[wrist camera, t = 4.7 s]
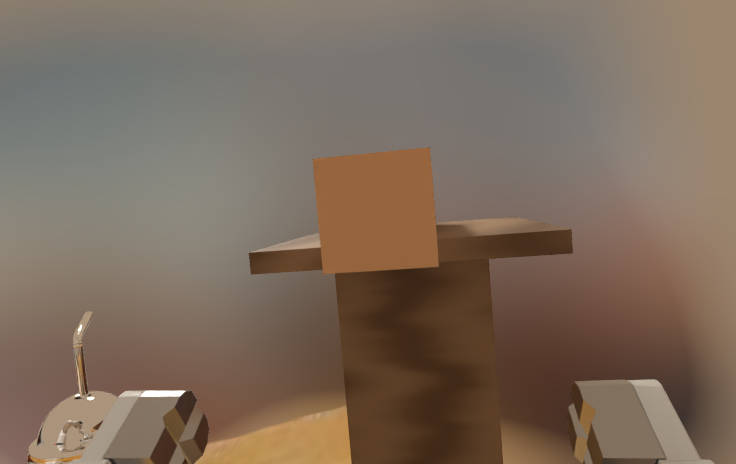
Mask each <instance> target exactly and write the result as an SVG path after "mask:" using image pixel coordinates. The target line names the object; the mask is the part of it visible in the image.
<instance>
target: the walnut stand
mask: <svg viewBox="0 0 736 464" xmlns="http://www.w3.org/2000/svg"><path fill="white" fill-rule="evenodd" d="M436 230H437V246H438V262H439V267H427V268H412V269H396V270H381V271H365V272H349V273H335V279H336V291H337V302H338V314H339V324H340V335H341V348H342V357H343V370H344V381H345V393H346V404H347V415H348V426H349V438H350V449H351V460H352V464H503V457H502V442H501V429H500V414H499V400H498V387H497V371H496V359H495V358H496V357H495V343H494V329H493V314H492V300H491V287H490V272H489V259H493V258H508V257H524V256H538V255H554V254H569V253H573V249H572V232H571V229H567V228H563V227H559V226H554V225H549V224H545V223H540V222H535V221H531V220H527V219H522V218H517V217H507V218H494V219H482V220H469V221H455V222H442V223H436ZM249 259H250V268H251V274H265V273H280V272H295V271H309V270H323V267H322V256H321V245H320V234H319V233H316V234H312V235H309V236H305V237H302V238H298V239H295V240H291V241H288V242H284V243H281V244H277V245H274V246H270V247H267V248H264V249H260V250H256V251H253V252H250V253H249Z"/></svg>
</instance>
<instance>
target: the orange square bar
mask: <svg viewBox="0 0 736 464" xmlns="http://www.w3.org/2000/svg"><path fill="white" fill-rule="evenodd" d="M313 168H314V178H315V190H316V201H317V212H318V221H319V234H320V245H321V256H322V267H323V274H333V273H349V272H365V271H381V270H396V269H412V268H427V267H439V262H438V246H437V230H436V216H435V203H434V190H433V178H432V167H431V156H430V148H429V147H428V148H418V149H408V150H399V151H388V152H378V153H368V154H358V155H348V156H338V157H329V158H318V159H313Z"/></svg>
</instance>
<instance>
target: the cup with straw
mask: <svg viewBox="0 0 736 464" xmlns="http://www.w3.org/2000/svg"><path fill="white" fill-rule="evenodd" d="M92 316H93V313H92V312H86V313H85V314H84V316H83V318H82V320H81V322H80V324H79V326H78V327H77V329H76V331H75V333H74V337H73V350H74V358H75V366H76V374H77V382H78V390H79V394H76V395H73V396H71V397H69V398H67V399H66V400H64V401H62V402H61V403H59V404H58V405H57V406H56V407H55V408H54V409H52V410H51V412H50V413H49V414H48V416H47V417H46V418H45V420H44V422H43V424H42V426H41V428H40V432H39V434H38V438H37V439H36V440H35V441H34V442H32V444H31V446H30V447H29V449H28V453H29V455H28V457H27V462H28V464H68V463H70V462H71V461H72V460H74V459H80V458H81V456H82V455H83V453H84V452H85V450H86V448H87V447H88V445H89V443H90V442H91V440H92V439H93V437H94V435H95V434H96V432H97V431H98V429H99V427H100V426H101V424H102V422H103V421H104V419H105V418H106V416H107V414H108V413H109V411H110V409H111V408H112V406H113V405H114V403H115V401H116V400H117V398H118V397H117V396H115V395H113V394H110V393H107V392H103V391H88V386H87V377H86V369H85V360H84V353H83V335H84V332H85V330H86V329H87V327H88V325H89V322H90V320H91V318H92Z"/></svg>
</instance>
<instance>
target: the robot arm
mask: <svg viewBox="0 0 736 464" xmlns="http://www.w3.org/2000/svg"><path fill="white" fill-rule="evenodd" d="M571 396H572V400H573V404H572V405H571V406H569V407H568V416H567V421H568V433H569V438H570V442H571V446H572V450H573V453H574V456H575V457H576V458H578V459H579V460H580V461H581V462H582V463H583V464H714V463H713V462H712V461H711V460H701V459H700V457H699V455H698V453H697V451H696V449H695V447H694V445H693V444H692V442H691V440H690V438H689V436H688V434H687V432H686V430H685V429H684V427H683V425H682V423H681V421H680V419H679V417H678V415H677V413H676V411H675V409H674V408H673V406H672V404H671V402H670V400H669V398H668V396H667V395H666V392H665V390H664V389H663V387H662V385H661V384H660V383H659V382H658V381H657V380H653V379H652V380H628V381H627V380H601V381H575V382H574V383H573V384H572V387H571ZM196 402H197V399H196V397H195V396H194V394H193V392H192V391H125V392H124V393H123V394H121V395H120V396H119V397H118V398H117V400H116V401H115V403H114V405H113V406H112V408H111V409H110V411H109V413H108V414H107V416H106V418H105V419H104V421H103V422H102V424H101V426H100V427H99V429H98V431H97V432H96V434H95V435H94V437H93V439H92V440H91V442H90V443H89V445H88V447H87V448H86V450H85V452H84V453H83V455H82V456H81V458H80V459H74V460H72V461H71V462H70V463H68V464H194V463H195V462H196V461H197V460H198V459H199V458H200V457H201V456H203V453H204V450H205V448H206V445H207V441H208V433H209V427H208V421H207V418H206V416H205V414H204V413H203V412H202V411H201V410H199V409H197V408H196V407H194V406H195V404H196Z"/></svg>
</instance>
